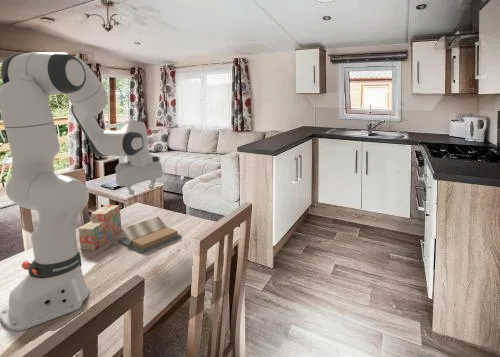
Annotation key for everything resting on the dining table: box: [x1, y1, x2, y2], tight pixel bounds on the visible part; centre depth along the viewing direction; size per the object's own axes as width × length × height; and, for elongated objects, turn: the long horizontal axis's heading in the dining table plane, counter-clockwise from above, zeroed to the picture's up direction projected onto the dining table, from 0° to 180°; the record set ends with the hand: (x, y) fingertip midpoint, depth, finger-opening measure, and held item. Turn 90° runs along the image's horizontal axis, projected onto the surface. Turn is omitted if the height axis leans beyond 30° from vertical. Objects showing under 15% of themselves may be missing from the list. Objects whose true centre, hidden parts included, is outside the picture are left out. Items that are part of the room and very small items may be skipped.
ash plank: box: [121, 216, 168, 243], centre depth 142 cm, size 18×7×2 cm
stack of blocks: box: [78, 204, 123, 251], centre depth 140 cm, size 21×6×12 cm, turn 172°
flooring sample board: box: [117, 226, 182, 254], centre depth 141 cm, size 20×17×3 cm
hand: (141, 191), depth 139 cm, fingers open, 8 cm apart
